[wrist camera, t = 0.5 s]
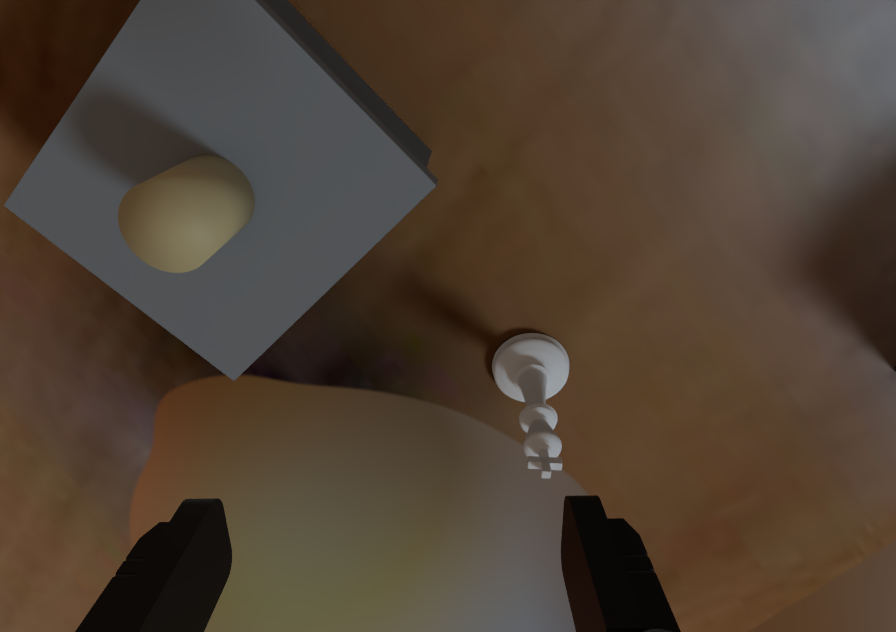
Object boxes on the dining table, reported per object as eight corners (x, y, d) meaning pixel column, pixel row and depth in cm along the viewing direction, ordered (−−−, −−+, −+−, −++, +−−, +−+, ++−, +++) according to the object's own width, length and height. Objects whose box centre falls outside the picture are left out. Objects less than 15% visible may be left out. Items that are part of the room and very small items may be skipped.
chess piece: (494, 330, 36) (499, 432, 27) (573, 334, 36) (604, 437, 27) (489, 395, 39) (492, 508, 30) (564, 399, 38) (589, 514, 30)
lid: (198, -67, 22) (119, -89, 17) (437, 179, 26) (428, 217, 21) (19, 199, 27) (-81, 239, 22) (240, 370, 31) (196, 436, 26)
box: (254, -33, 28) (201, -45, 22) (431, 151, 31) (422, 179, 26) (106, 169, 33) (33, 199, 27) (273, 309, 36) (238, 359, 31)
